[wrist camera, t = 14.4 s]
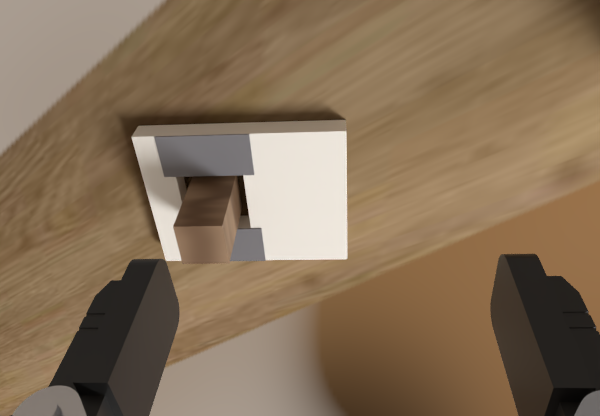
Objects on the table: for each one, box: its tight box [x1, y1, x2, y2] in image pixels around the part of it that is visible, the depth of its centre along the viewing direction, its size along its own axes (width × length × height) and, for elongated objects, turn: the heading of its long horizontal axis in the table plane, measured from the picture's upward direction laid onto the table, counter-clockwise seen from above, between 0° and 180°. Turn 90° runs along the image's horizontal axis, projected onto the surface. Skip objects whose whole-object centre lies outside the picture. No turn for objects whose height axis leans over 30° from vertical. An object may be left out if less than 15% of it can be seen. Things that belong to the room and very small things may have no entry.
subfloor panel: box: [131, 120, 347, 261], centre depth 49 cm, size 18×14×2 cm
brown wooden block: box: [173, 176, 242, 264], centre depth 47 cm, size 4×4×8 cm
